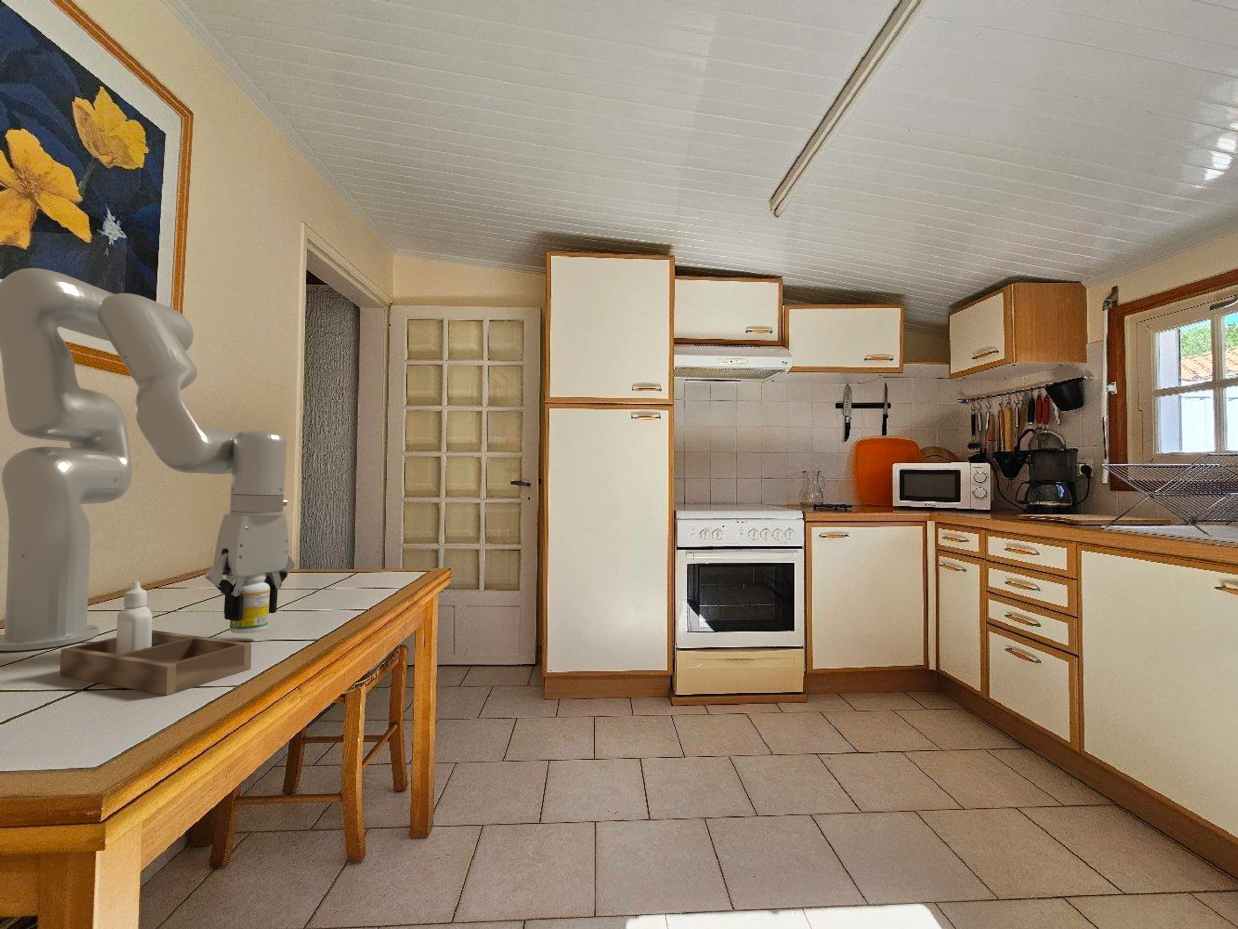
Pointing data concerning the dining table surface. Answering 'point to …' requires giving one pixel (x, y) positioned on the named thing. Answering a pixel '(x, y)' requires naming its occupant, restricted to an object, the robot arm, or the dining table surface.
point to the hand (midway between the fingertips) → (251, 614)
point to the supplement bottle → (253, 606)
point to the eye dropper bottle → (134, 622)
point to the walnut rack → (157, 662)
